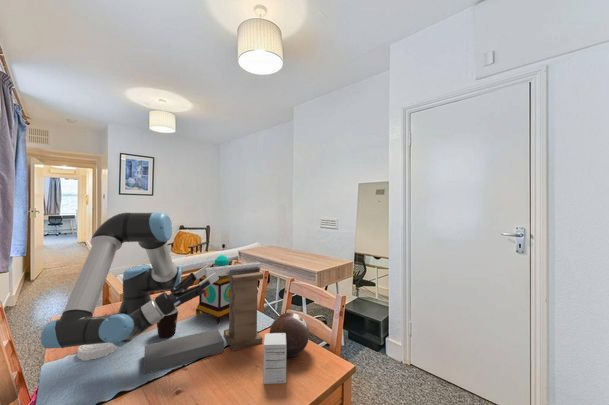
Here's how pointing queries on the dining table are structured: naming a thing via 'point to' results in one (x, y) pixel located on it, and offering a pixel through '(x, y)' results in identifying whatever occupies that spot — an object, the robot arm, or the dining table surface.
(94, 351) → the mooncake
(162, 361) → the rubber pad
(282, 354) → the supplement box
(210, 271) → the bar
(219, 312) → the decorative lantern
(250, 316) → the pedestal
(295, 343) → the wooden sphere
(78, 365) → the dining table surface
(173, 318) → the coffee mug
